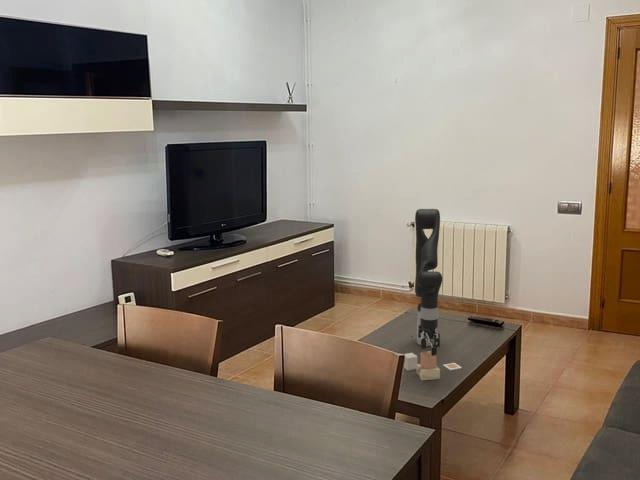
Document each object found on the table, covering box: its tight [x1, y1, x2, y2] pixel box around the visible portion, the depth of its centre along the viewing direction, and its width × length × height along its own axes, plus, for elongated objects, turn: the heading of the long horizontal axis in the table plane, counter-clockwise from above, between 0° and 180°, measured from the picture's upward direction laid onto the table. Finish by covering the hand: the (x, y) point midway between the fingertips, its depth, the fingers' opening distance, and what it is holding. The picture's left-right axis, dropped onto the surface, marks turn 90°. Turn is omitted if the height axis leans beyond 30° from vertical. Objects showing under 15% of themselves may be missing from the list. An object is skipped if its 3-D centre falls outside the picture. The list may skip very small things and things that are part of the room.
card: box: [442, 362, 462, 371], centre depth 282 cm, size 6×6×1 cm
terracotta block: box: [419, 350, 438, 370], centre depth 272 cm, size 5×5×6 cm
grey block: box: [403, 352, 419, 372], centre depth 281 cm, size 5×5×6 cm
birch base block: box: [416, 363, 441, 381], centre depth 272 cm, size 8×8×4 cm
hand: (428, 351), depth 271 cm, fingers open, 8 cm apart
